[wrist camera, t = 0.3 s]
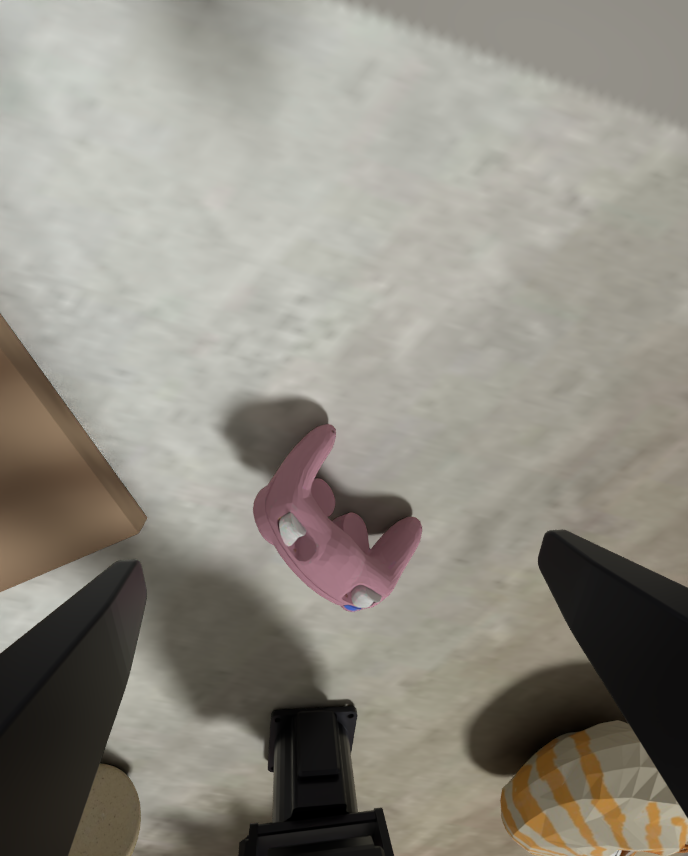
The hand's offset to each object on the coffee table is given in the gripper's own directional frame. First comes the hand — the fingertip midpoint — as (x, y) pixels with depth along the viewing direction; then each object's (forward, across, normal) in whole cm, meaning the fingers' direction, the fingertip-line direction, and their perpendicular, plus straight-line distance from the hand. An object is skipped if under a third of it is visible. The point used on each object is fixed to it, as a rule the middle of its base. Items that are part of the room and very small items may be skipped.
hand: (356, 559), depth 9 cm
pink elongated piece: (+14, -2, +8) cm, 16 cm away
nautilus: (+13, -26, +36) cm, 46 cm away
